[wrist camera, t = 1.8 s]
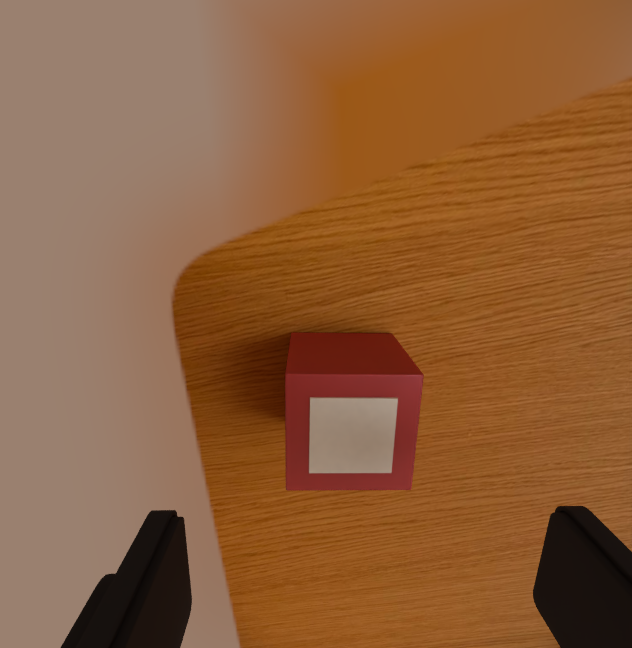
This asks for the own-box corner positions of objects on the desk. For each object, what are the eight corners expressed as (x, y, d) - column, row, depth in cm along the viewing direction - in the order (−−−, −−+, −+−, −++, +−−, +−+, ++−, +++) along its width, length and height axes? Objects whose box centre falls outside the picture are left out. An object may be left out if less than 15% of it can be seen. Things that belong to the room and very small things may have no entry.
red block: (290, 332, 17) (284, 375, 13) (392, 333, 18) (425, 375, 13) (291, 422, 19) (285, 492, 14) (385, 422, 19) (412, 492, 14)
